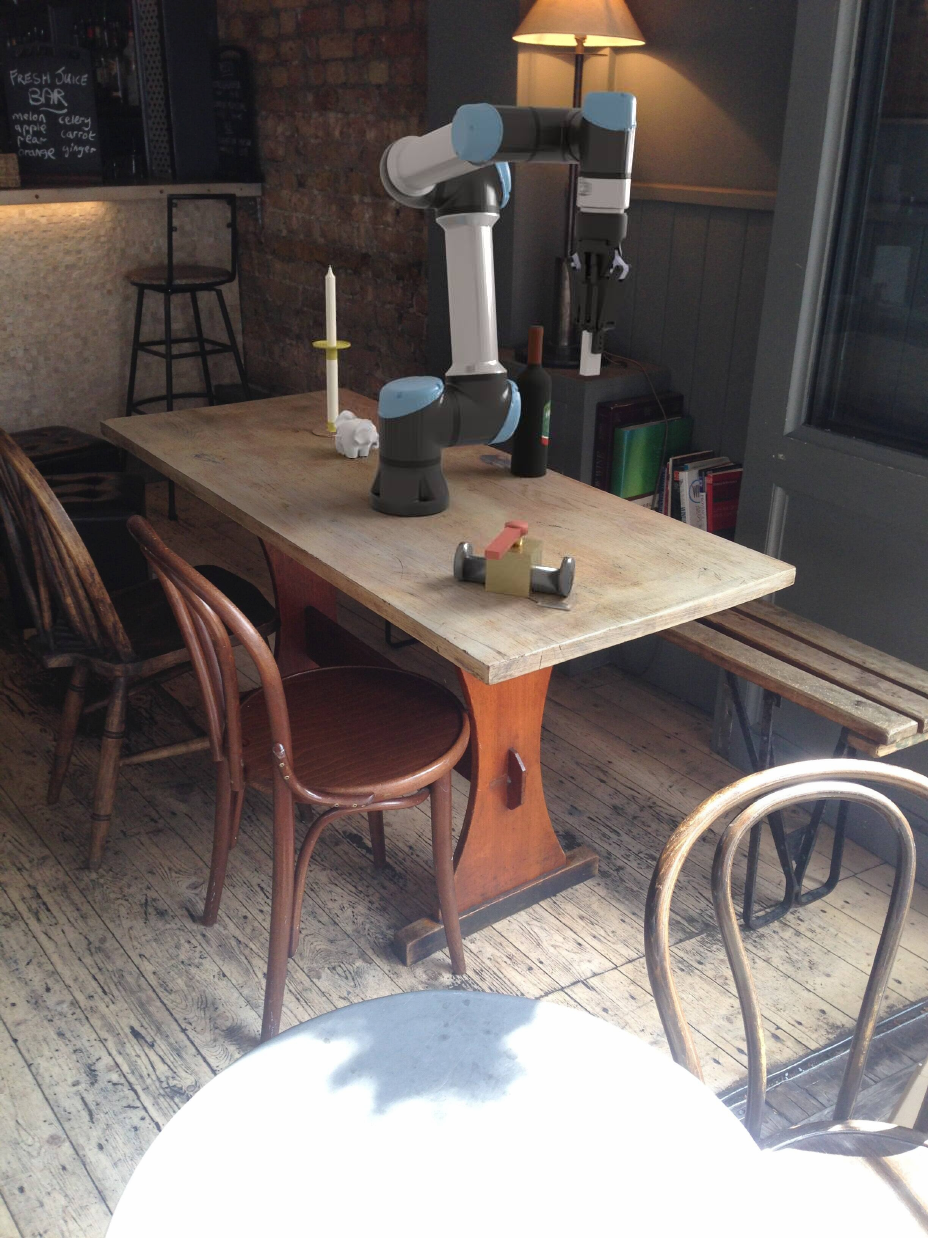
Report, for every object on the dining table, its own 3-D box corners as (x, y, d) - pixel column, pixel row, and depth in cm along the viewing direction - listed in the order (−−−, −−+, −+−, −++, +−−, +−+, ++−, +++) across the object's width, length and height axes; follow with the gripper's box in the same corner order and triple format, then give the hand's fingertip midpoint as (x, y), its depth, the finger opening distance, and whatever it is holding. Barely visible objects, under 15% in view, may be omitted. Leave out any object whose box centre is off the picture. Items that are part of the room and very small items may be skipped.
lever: (508, 527, 170) (508, 519, 170) (530, 530, 169) (530, 522, 169) (479, 557, 158) (480, 549, 157) (503, 560, 157) (504, 552, 156)
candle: (352, 438, 251) (350, 267, 236) (308, 436, 251) (303, 266, 236) (356, 427, 260) (355, 262, 245) (314, 426, 260) (310, 261, 245)
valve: (446, 590, 169) (448, 537, 166) (466, 570, 177) (467, 519, 174) (569, 610, 164) (573, 555, 160) (583, 588, 172) (587, 536, 168)
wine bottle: (508, 467, 233) (515, 323, 221) (543, 467, 234) (552, 323, 221) (512, 477, 226) (520, 329, 214) (548, 477, 227) (558, 330, 215)
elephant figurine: (393, 456, 238) (393, 415, 235) (344, 463, 232) (343, 422, 229) (371, 445, 246) (371, 406, 242) (323, 452, 239) (322, 412, 236)
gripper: (553, 207, 161) (544, 368, 170) (611, 213, 151) (597, 384, 161) (593, 206, 165) (582, 364, 174) (651, 212, 155) (636, 380, 164)
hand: (589, 374), depth 167 cm, fingers closed
